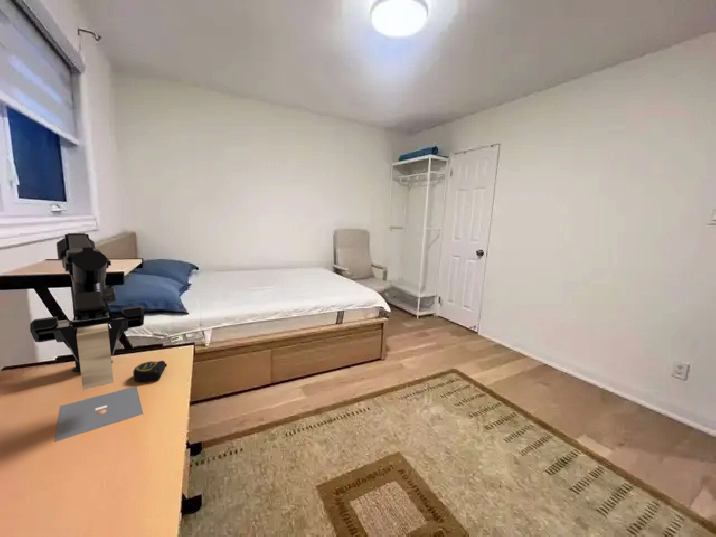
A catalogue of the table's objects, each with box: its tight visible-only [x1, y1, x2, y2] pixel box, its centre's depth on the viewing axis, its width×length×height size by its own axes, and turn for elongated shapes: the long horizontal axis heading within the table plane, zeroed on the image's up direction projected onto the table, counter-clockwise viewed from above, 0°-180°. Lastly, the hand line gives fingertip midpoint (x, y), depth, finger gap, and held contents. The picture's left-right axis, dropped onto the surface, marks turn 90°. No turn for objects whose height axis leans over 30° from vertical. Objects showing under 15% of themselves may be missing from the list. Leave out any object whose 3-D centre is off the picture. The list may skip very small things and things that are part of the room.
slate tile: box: [54, 385, 144, 442], centre depth 69 cm, size 14×14×1 cm
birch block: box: [77, 324, 114, 391], centre depth 66 cm, size 5×5×12 cm
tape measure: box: [132, 360, 168, 383], centre depth 83 cm, size 7×7×4 cm
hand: (95, 358), depth 65 cm, fingers closed on birch block, 5 cm apart
